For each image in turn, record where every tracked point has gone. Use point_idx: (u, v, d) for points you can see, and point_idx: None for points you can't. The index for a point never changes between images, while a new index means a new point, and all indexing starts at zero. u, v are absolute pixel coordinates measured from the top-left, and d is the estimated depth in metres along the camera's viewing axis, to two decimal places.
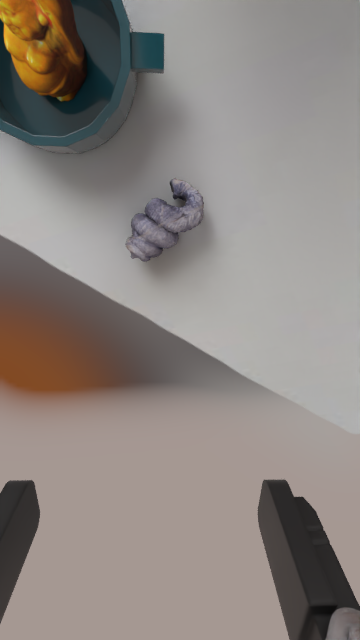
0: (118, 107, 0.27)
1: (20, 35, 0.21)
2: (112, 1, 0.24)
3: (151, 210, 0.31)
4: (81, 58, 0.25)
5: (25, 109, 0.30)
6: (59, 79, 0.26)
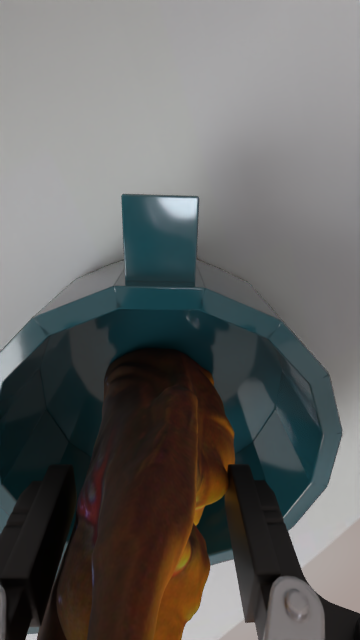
0: (280, 319, 0.11)
1: None
2: (77, 322, 0.10)
3: None
4: (192, 398, 0.11)
5: None
6: (221, 430, 0.13)
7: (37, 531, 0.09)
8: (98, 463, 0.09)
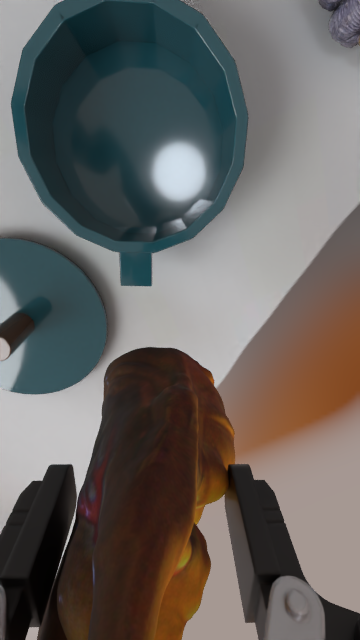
0: None
1: None
2: (81, 10, 0.17)
3: None
4: (193, 398, 0.11)
5: (183, 198, 0.26)
6: (221, 430, 0.13)
7: (37, 531, 0.09)
8: (98, 462, 0.09)
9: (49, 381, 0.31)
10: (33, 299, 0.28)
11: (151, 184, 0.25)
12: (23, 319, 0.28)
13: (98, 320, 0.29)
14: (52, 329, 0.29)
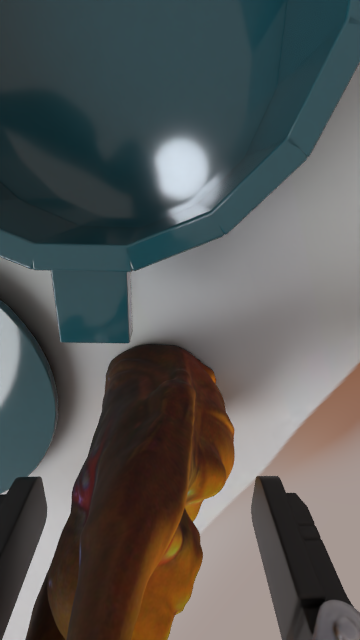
0: None
1: None
2: None
3: None
4: (190, 391, 0.11)
5: (197, 153, 0.12)
6: (220, 426, 0.13)
7: None
8: (93, 452, 0.10)
9: None
10: None
11: (130, 124, 0.12)
12: None
13: (38, 389, 0.16)
14: None
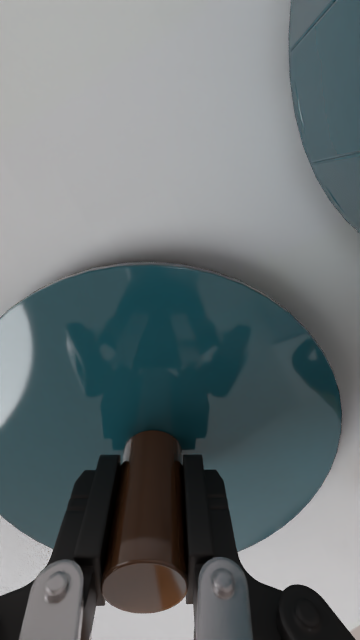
0: None
1: None
2: None
3: None
4: None
5: None
6: None
7: (100, 515, 0.09)
8: None
9: None
10: (189, 402, 0.12)
11: None
12: (171, 454, 0.12)
13: (323, 441, 0.13)
14: (218, 460, 0.13)
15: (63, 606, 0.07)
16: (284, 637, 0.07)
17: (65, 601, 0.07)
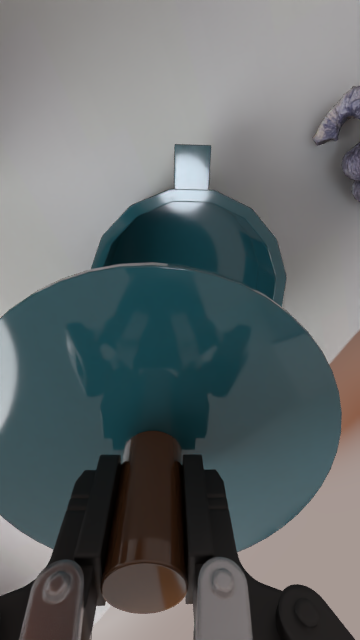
0: None
1: None
2: (151, 208, 0.21)
3: None
4: None
5: None
6: None
7: (100, 515, 0.09)
8: None
9: None
10: (189, 403, 0.12)
11: None
12: (171, 454, 0.12)
13: (323, 441, 0.13)
14: (218, 460, 0.13)
15: (63, 606, 0.07)
16: (283, 637, 0.07)
17: (65, 601, 0.07)
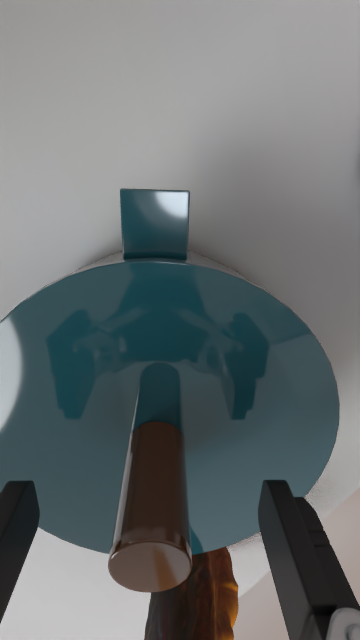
0: None
1: None
2: None
3: None
4: (212, 586, 0.18)
5: None
6: (229, 593, 0.20)
7: None
8: (159, 638, 0.17)
9: (192, 538, 0.16)
10: (192, 394, 0.12)
11: None
12: (175, 443, 0.12)
13: (322, 432, 0.13)
14: (220, 450, 0.14)
15: None
16: None
17: None
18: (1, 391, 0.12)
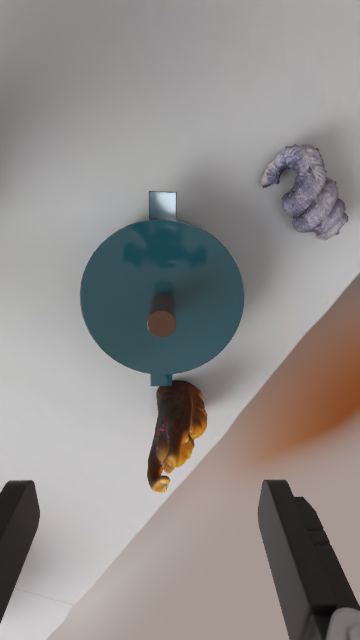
0: None
1: None
2: None
3: (298, 208, 0.28)
4: (191, 401, 0.35)
5: None
6: (201, 412, 0.36)
7: None
8: (163, 418, 0.33)
9: (179, 361, 0.32)
10: (178, 279, 0.29)
11: None
12: (171, 298, 0.28)
13: (236, 300, 0.30)
14: (191, 309, 0.30)
15: None
16: None
17: None
18: (97, 277, 0.28)
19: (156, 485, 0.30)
